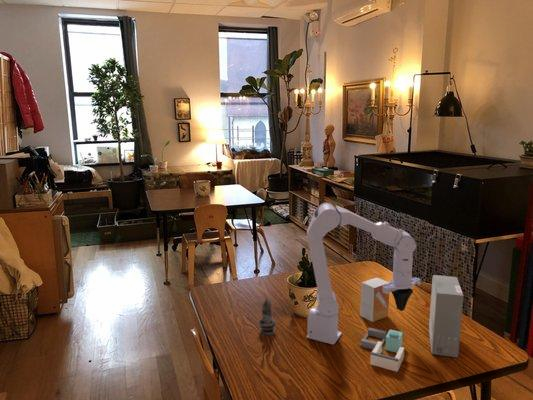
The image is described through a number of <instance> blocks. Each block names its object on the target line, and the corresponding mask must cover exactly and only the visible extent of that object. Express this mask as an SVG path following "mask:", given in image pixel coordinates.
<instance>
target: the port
mask: <svg viewBox="0 0 533 400" xmlns="http://www.w3.org/2000/svg"><path fill="white" fill-rule="evenodd" d="M377 342H378V343H377V344H376V346H375V348H374V350H373V349H372V351H371V352H370V363H369V364H370V365H372V366H375V367H379V368H382V369H386V370H390V371H393V372H398V371H399V369H400V367H401V365H402V363H403V360H404V358H405V347H403V346H402V347H400V348H399V350H398V352H397V353H396V355H395V356H394V357H393V356H390V355H385V354H382V352H383V345H382V341H377Z"/></svg>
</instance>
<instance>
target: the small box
mask: <svg viewBox="0 0 533 400" xmlns="http://www.w3.org/2000/svg"><path fill="white" fill-rule="evenodd" d="M360 283H361V285H360V289H361V290H360V312H359V313H360V314H359V316H360V317H362V318H364V319H366V320H368V321H370V322H372V323H375V322H377V321H379V320H382V319H384V318H388V317H389V307H390V304H389V303H390V293H389V294H385V293H383V292H382V288H383V286H385V285H387V284H388V283H390V282H389V281H386V280H384V279H382V278H379V277H375V278H374V277H373V278H370V279H368V280H365V281H361V282H360Z"/></svg>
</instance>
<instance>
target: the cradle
mask: <svg viewBox="0 0 533 400" xmlns="http://www.w3.org/2000/svg"><path fill="white" fill-rule="evenodd" d="M369 336H371V337H375V338H378V339H381V342H382V346H383V345H384V343H386V336H387V331H386V330H382V329H378V328H373V327H368V329H367V332H366V334H365V335H364V337H362V338H361V340H360V343H359V347H362V348H365V349H369V350H372V351H373V350H374V348H375V346H376V344H377V343H378V341H375V340H371V339H367V338H368V337H369Z"/></svg>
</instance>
